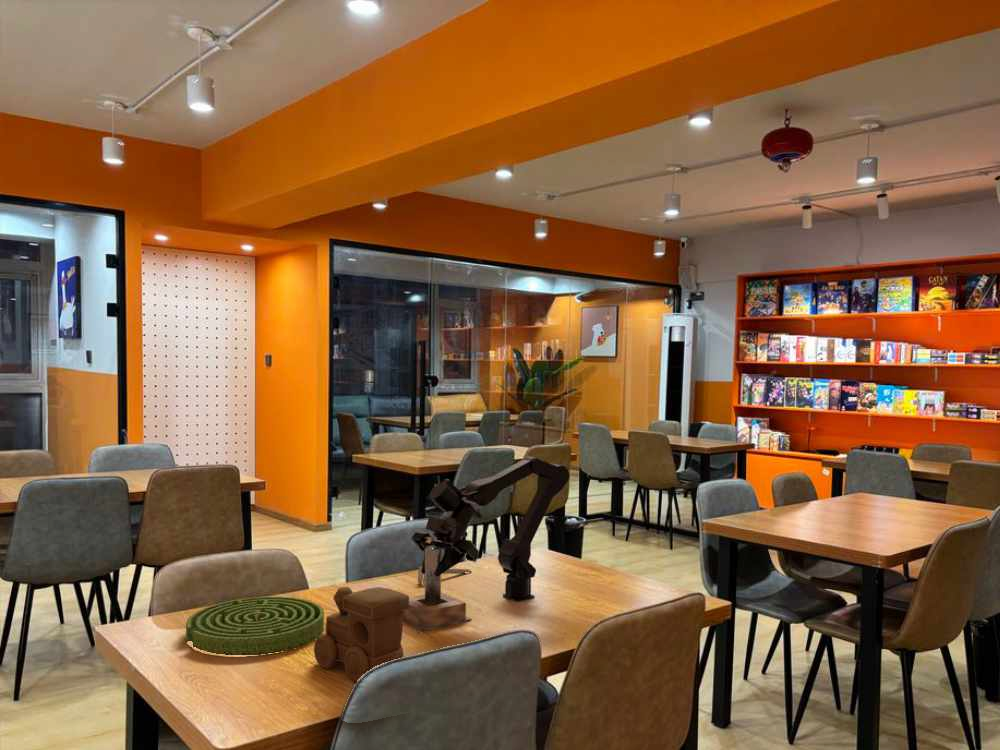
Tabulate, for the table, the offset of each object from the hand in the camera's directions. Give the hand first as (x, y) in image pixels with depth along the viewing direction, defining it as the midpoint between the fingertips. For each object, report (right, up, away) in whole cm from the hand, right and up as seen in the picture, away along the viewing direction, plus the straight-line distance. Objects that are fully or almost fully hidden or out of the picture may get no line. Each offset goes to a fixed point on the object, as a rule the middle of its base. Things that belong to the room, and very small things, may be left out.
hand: (429, 574), depth 195 cm
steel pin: (+1, -7, +1) cm, 7 cm away
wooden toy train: (-12, -12, -32) cm, 36 cm away
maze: (-40, -12, -10) cm, 43 cm away
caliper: (+1, -11, +39) cm, 41 cm away
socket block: (+1, -11, +1) cm, 11 cm away
